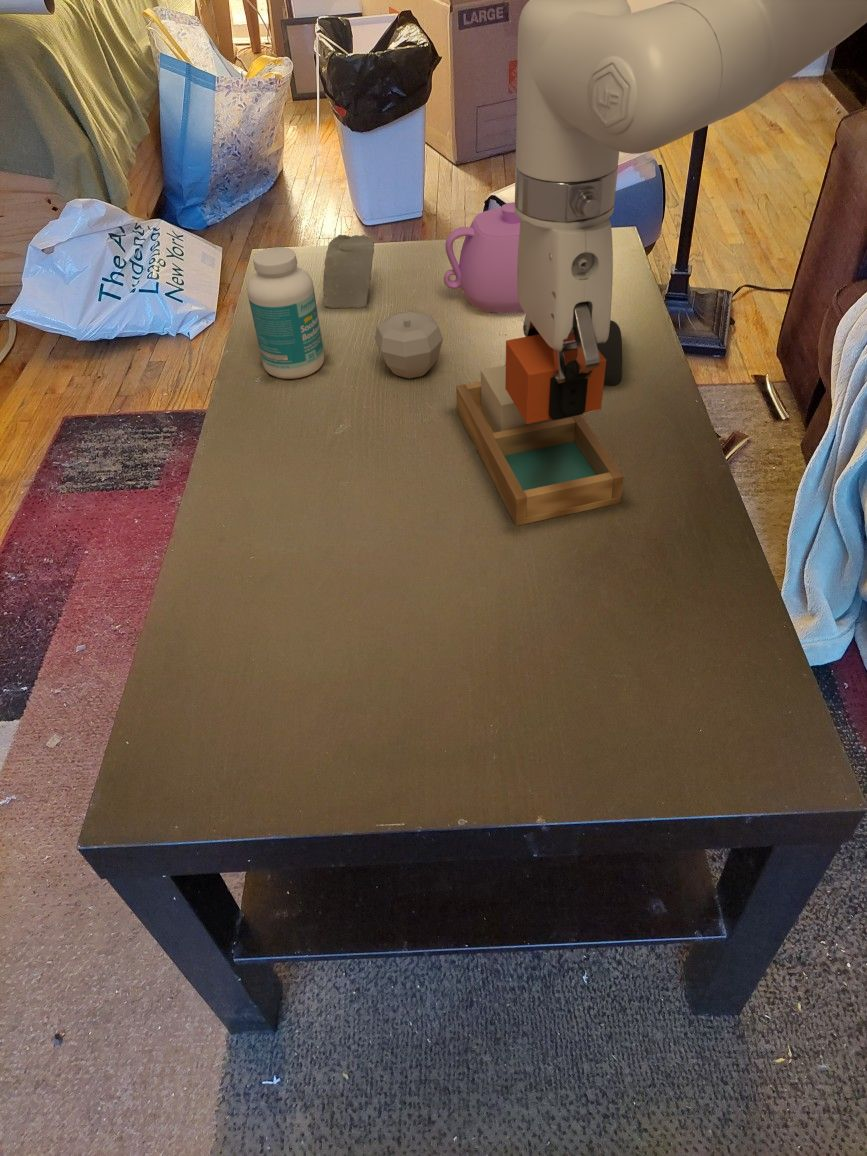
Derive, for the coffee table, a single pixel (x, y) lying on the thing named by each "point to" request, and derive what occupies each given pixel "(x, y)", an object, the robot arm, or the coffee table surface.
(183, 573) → the coffee table surface
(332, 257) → the mineral specimen
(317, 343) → the pill bottle
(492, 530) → the coffee table surface
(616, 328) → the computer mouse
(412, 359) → the apple
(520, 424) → the beige block
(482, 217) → the teapot
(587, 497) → the holder
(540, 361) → the orange block
